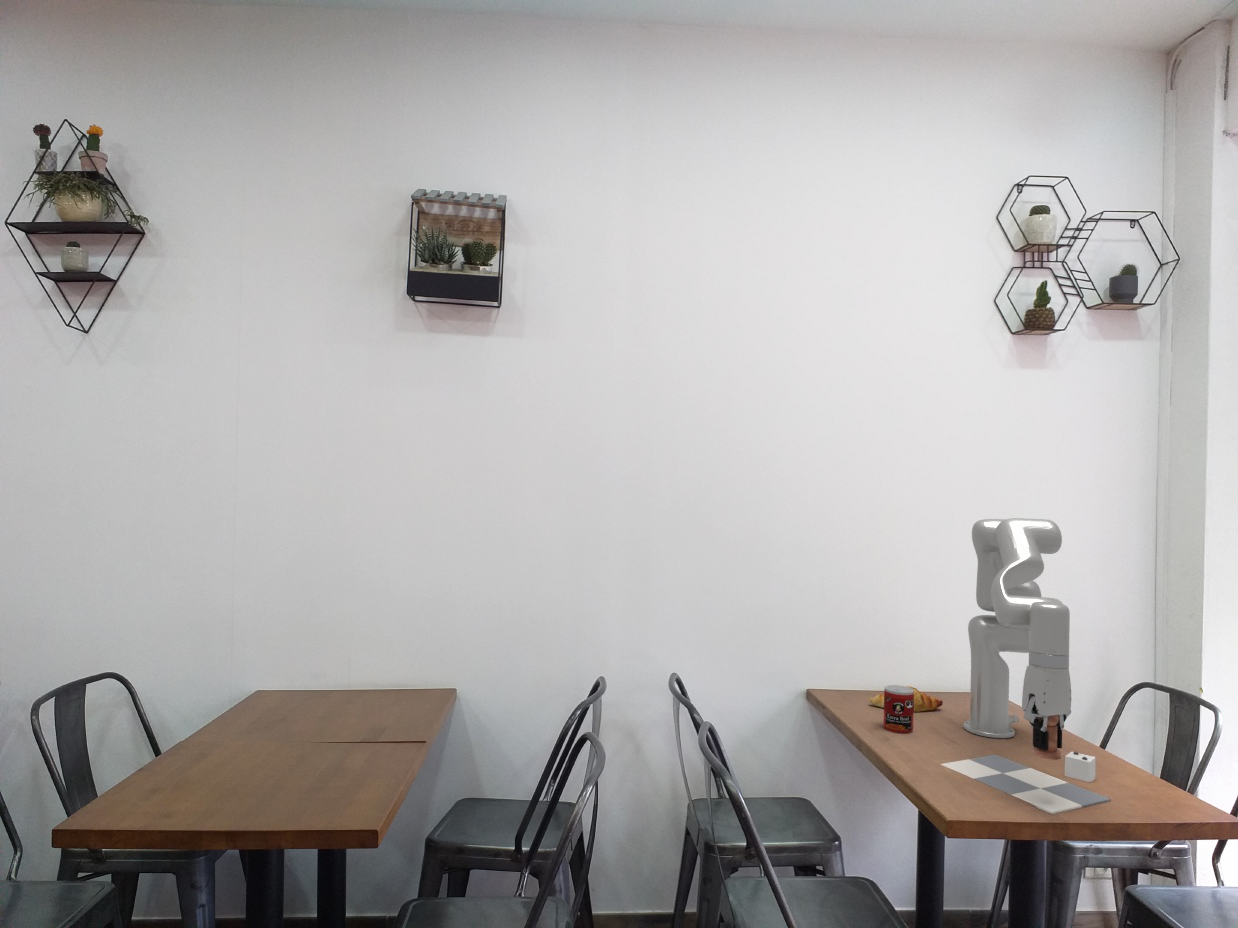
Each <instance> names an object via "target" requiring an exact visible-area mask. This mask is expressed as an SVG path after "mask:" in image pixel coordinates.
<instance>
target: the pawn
mask: <svg viewBox="0 0 1238 928" xmlns="http://www.w3.org/2000/svg"><path fill="white" fill-rule="evenodd" d="M1038 719H1039V720H1040V722H1041V719H1042V718H1039V717H1038ZM1058 720H1059V718H1058V715H1054V716H1049V717H1048V720H1047V729H1046V731H1048V732H1049V738H1048V750H1047V751H1044V750H1041V749H1039V748H1036V747H1034V746H1032V750H1033V752H1032V755H1034V756H1036V757H1039V758H1041V759H1046V760H1054V761H1056V760H1057V761H1059V760H1062V750H1060V749H1059V748H1057V726H1056V724H1057V723H1058Z"/></svg>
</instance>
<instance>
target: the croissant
mask: <svg viewBox="0 0 1238 928" xmlns="http://www.w3.org/2000/svg"><path fill="white" fill-rule="evenodd" d="M906 687H909V688H911V689H913V690H914V713H920V712H928V711H929V712H930V711H933V710H934V711H935V710H937V709H939V708H940V707H942V706H943V703H944V701H943V700H942V699H940V698H936V697H935V696H931V695H927V694H926V693H925V692H920V691H919V690H918V689H917V688H916V687H913V686H909V685H908V686H906ZM869 703H870V704H872V705H873V706H874V707H879V708H881V709H884V693H879V694H877V695H875V696H871V697H870V698H869Z"/></svg>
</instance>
